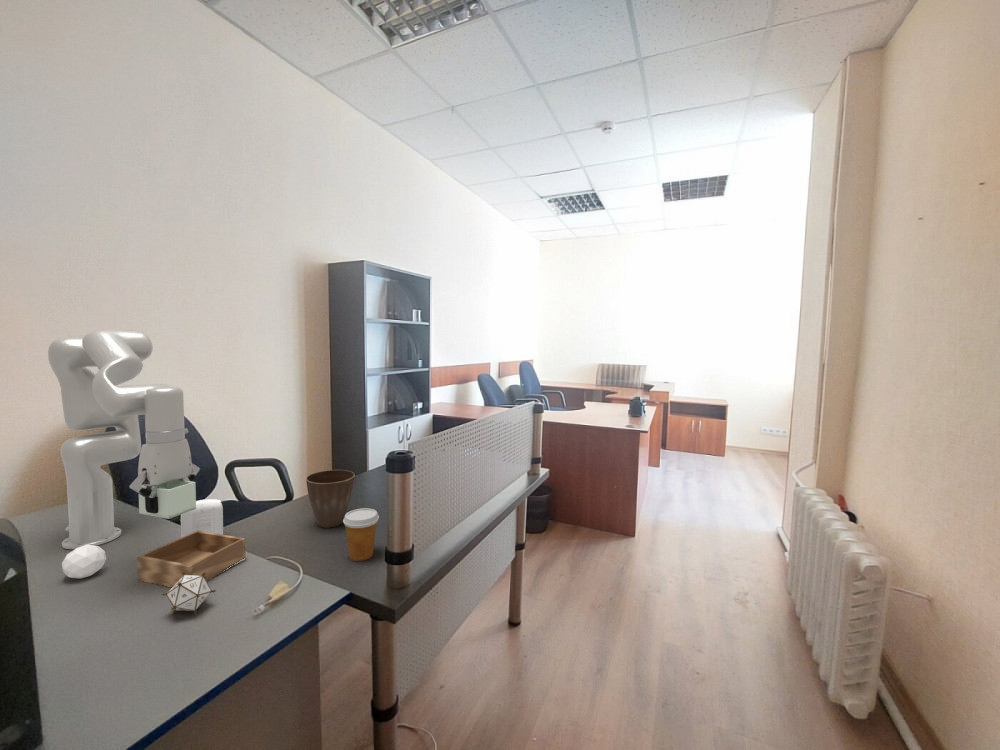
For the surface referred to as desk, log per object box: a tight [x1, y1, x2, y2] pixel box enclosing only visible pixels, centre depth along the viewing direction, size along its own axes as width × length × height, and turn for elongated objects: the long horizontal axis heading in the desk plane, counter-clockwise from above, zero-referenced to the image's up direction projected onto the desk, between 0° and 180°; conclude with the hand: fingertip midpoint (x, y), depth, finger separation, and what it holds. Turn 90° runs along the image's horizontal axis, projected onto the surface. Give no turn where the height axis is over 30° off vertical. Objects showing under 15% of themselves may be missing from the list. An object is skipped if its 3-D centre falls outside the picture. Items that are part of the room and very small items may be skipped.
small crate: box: [138, 480, 197, 520], centre depth 104 cm, size 10×7×7 cm, turn 74°
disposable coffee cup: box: [342, 507, 380, 562], centre depth 116 cm, size 10×10×12 cm
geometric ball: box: [61, 544, 107, 580], centre depth 104 cm, size 8×8×8 cm
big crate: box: [136, 531, 246, 588], centre depth 108 cm, size 17×16×6 cm
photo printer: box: [180, 498, 224, 538], centre depth 123 cm, size 10×4×12 cm, turn 123°
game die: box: [160, 571, 217, 615], centre depth 91 cm, size 9×8×10 cm
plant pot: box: [305, 469, 356, 529], centre depth 137 cm, size 15×15×16 cm
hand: (168, 506), depth 104 cm, fingers closed on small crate, 6 cm apart
